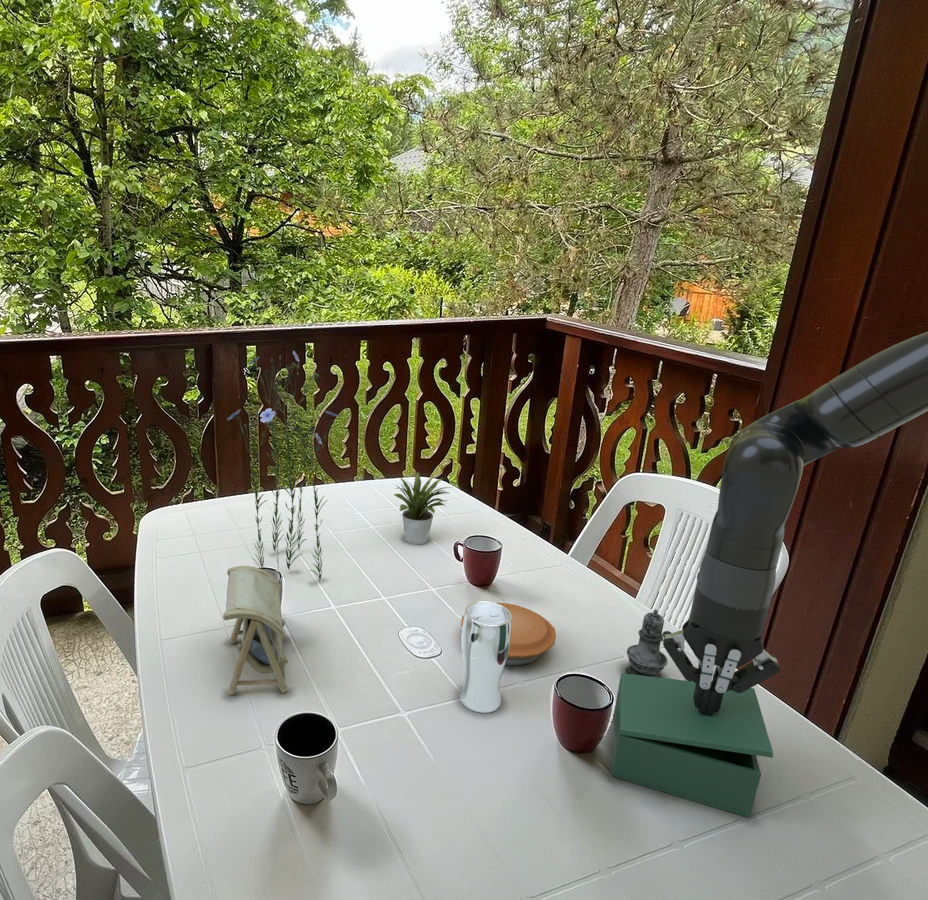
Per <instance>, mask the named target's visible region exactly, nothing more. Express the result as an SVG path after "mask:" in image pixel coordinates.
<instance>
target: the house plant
mask: <svg viewBox="0 0 928 900" xmlns="http://www.w3.org/2000/svg"><path fill="white" fill-rule="evenodd" d="M434 476H435V475H434V474H432V476H431V477H429V479H428V480H427V481H426V482H425V484H424V485H423V486H422V480H421V478H420V473H419V471H417V472H416V474H415V477H414V482H413V485H412V484H411V483H410V482H409V481H406V480H405V479H404V478H402V477H400V481H401V482H402V484H401V483H399V484H400V485H401V487H400V485H399V486H398V485H396V488H395V490H397V489H399V490H400V491H401V492H402V493H403V494H402V493H394V494H393V496H394V497H396V498H398V499H400V500H401V501H403V502H404V503H405V504H403V503H402V504H400V506H399V509H398V510H399V511H398V512H401V511H402V514H401V516H402V524H403V531H404V541H406V542H407V543H409V544H413V545H423V544H425V543H427V542H428V541H429V540H428V539H429V535H430V532H431V527H432V523H433V518H434V515H435V512H436V510H435V509H434V507H438V506H439V507H440V506H444V507H446V505H445V504H444V503H446V502H447V500H446V499H445V500H444V499H442V498H438V497H437V498H433V497H436V496H439V495H444V494H449V491H445V490H444V489H450V488H451V489H452V488H453V486H452V487H451V486H450V487H449V486H446V487H444V486H443V487H440V488H437V489H435V488H436V487H437V486H438V484H439V483H440V482H441V481H442V480H443V479H444V477H443V478H438V479H437V480H435V481H434V482H433V483H432V484H430V483H431V481H432V480H433V478H434ZM429 485H430V486H429ZM421 487H422V488H421ZM443 502H444V503H443ZM446 504H447V503H446Z"/></svg>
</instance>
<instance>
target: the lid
mask: <svg viewBox="0 0 928 900" xmlns="http://www.w3.org/2000/svg"><path fill="white" fill-rule="evenodd" d="M620 678H621V685H620V734H621V735H625V736H632V737H639V738H645V739H652V740H658V741H665V742H671V743H678V744H685V745H691V746H698V747H704V748H711V749H718V750H724V751H731V752H737V753H744V754H750V755H756V757H765V758H770V759H773V758H774V751H773V748H772V744H771V740H770V737H769V734H768V730H767V727H766V724H765V720H764V716H763V714H762V710H761V706H760V703H759V700H758V696H757V693H756V690H755V689H756V688H754V687H751V688H750V689H748V690H746V691H744V692H742V693H736V692H735V691H734V690H732V691H726V692H725V693H724V695H723V699H722V703H721V707H720V710H719V711H718V712H713V715H712V716H711V715H707V714H703V713H699V710H698V708H697V707H695V705H694V699H693V695H694V691H695V686H696V683H695V682H693V681H687V680H686V679H685V680H684V679H677V678H676V679H675V678H666V677H662V678H659V677H650V676H641V675H633V674H626V673H622V672H621V673H620Z"/></svg>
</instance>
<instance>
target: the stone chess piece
mask: <svg viewBox="0 0 928 900" xmlns="http://www.w3.org/2000/svg"><path fill="white" fill-rule="evenodd" d="M641 626H642V627H641V629H639V630H638V631H637V634H638V636H639V638H638V643H637V644H633V645H631V646H629V647H628V648H626V655H627V658H628V662H629V664H628V665H627V666H626V667H625V670H624V671H625V674H633V675H641V676H650V677H659V678H663V677H662V675H661V674H660V673H661V672H662V671H663V670H664V668H665V667H667V665H668V663H669V660H668V657H667V656H666V655H665V654H664V652H662V651H661V650H660V649H661V648H660V647H661V642H663V637H662V633H663V630H664V626H665V619H664V617H663V616H662V615H661V614H659V611H658V609H656V608H655V609H653V610H652V612H647V613H646V614H645V615H643V620H642V625H641Z"/></svg>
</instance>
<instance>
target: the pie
mask: <svg viewBox="0 0 928 900" xmlns="http://www.w3.org/2000/svg"><path fill="white" fill-rule="evenodd" d="M497 603H498V604H500V605H502V606H504V607H506V608H507V609H508V610H509V611H510V613H511V615H512V618H511V642H510V649H509V653H508V657H507V661H506V664H505V666H506V665H507V666H522V665H523V666H524V665H527V664H530V663H532V662H535V661H536V660H537V659H539V657H540V656H541V655H542V654H545V653H546V652H548V651H549V650H550V649H551V648H552V647H553V646H554V645H555V642H556V638H557V636H556V635H557V633H556V629H555V628H556V627H554V626H553V625H552V624H551V623H550V622H549V620H548V619H546V618H545V617H543V616H542V615H541V614H539V613H537V612H535V611H534V610H532V609H529V608H526V607H523V606H521V605H519V604H513V603H507V602H497ZM464 615H465V613H464V614H463V615H462V617H461V627H462V626H463V620H464Z"/></svg>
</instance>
